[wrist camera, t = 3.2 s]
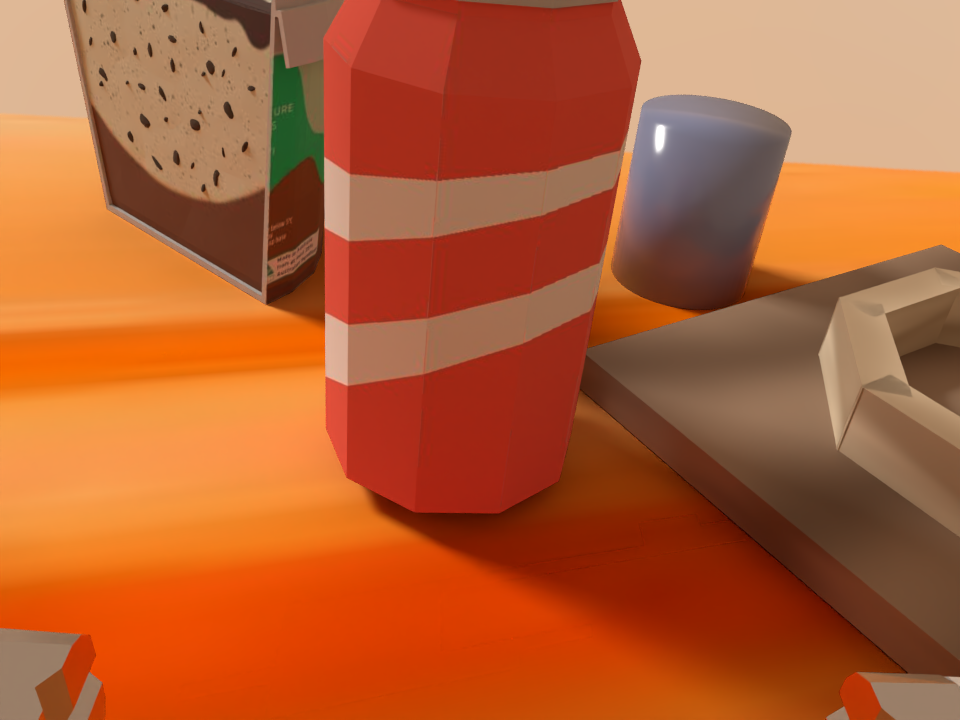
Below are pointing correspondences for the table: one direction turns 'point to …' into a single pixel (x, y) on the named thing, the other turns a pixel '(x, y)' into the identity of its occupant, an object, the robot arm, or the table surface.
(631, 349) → the square plate with ring
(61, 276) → the table surface
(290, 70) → the food container
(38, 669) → the robot arm
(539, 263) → the beverage can
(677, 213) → the lavender rounded cylinder
